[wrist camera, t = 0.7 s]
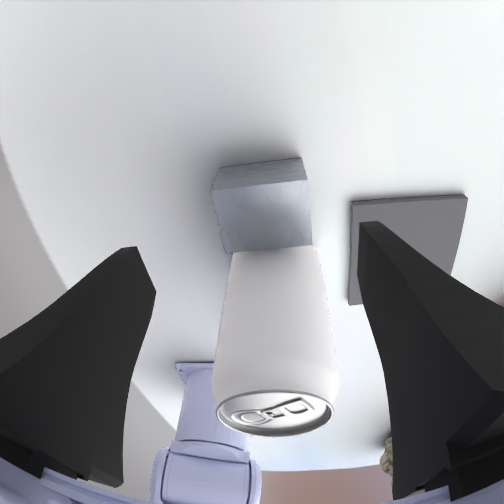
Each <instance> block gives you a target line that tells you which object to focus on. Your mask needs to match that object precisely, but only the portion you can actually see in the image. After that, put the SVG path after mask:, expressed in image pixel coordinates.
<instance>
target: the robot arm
mask: <svg viewBox="0 0 504 504" xmlns="http://www.w3.org/2000/svg"><path fill="white" fill-rule="evenodd" d="M357 278H358V283H359V288H360V292H361V297H362V302H363V305H364V308H365V311H366V314H367V317H368V320H369V323H370V326H371V330H372V333H373V336H374V339H375V342H376V345H377V349H378V352H379V355H380V359H381V363H382V367H383V371H384V377H385V383H386V390H387V396H388V404H389V413H390V423H391V436H392V455H393V485H392V493H393V501H390V502H386V503H380V504H504V307H502V306H500V305H498V304H496V303H494V302H493V301H491V300H489V299H487V298H485V297H483V296H482V295H480V294H478V293H477V292H475V291H473V290H472V289H470V288H469V287H467V286H466V285H464V284H462V283H461V282H459V281H458V280H456V279H455V278H453V277H452V276H450V275H449V274H447V273H446V272H444V271H443V270H442V269H440V268H439V267H438V266H436V265H435V264H433V263H432V262H431V261H429V260H428V259H427V258H425V257H424V256H423V255H421V254H420V253H419V252H418V251H416V250H415V249H414V248H413V247H411V246H410V245H409V244H408V243H406V242H405V241H404V240H403V239H401V238H400V237H399V236H398V235H396V234H395V233H394V232H393V231H391V230H390V229H389V228H387V227H386V226H385V225H383V224H382V223H381V222H379V221H369V222H359V244H358V264H357ZM155 296H156V290H155V288H154V286H153V283H152V281H151V279H150V277H149V274H148V272H147V270H146V267H145V265H144V263H143V260H142V258H141V256H140V253H139V251H138V249H137V246H135V247H126V248H121V249H119V250H118V251H116V252H115V253H113V254H112V255H111V256H109V257H108V258H107V259H105V260H104V261H103V262H102V263H100V264H99V265H98V266H97V267H96V268H94V269H93V270H92V271H91V272H90V273H88V274H87V275H86V276H85V277H84V278H83V279H81V280H80V281H79V282H78V283H77V284H75V285H74V286H73V287H72V288H71V289H69V290H68V291H67V292H66V293H65V294H63V295H62V296H61V297H60V298H59V299H57V300H56V301H55V302H54V303H53V304H51V305H50V306H49V307H47V308H46V309H45V310H43V311H42V312H41V313H39V314H38V315H37V316H35V317H34V318H32V319H31V320H29V321H28V322H27V323H25V324H23V325H22V326H20V327H19V328H17V329H15V330H14V331H12V332H11V333H9V334H8V335H6V336H4V337H2V338H1V339H0V504H82V503H83V504H259V501H260V494H261V483H262V476H261V468H260V466H259V465H258V464H257V463H256V461H255V460H249V457H250V452H247V451H248V449H249V446H250V435H247V434H243V433H240V432H237V431H234V430H232V429H230V428H228V427H226V426H225V425H223V424H222V423H221V422H220V421H219V420H218V419H217V417H216V408H217V406H218V405H217V402H216V400H215V397H214V394H213V391H212V373H213V366H214V363H177V364H176V366H175V368H176V369H177V371H178V373H179V374H180V376H181V377H182V379H183V381H184V382H185V384H186V387H185V392H184V397H183V402H182V407H181V412H180V417H179V422H178V427H177V432H176V438H175V441H172V444H171V448H169V447H164V448H163V449H162V450H160V451H158V453H157V455H156V458H155V461H154V465H153V469H152V476H151V484H150V493H151V497H150V501H146V500H142V499H137V498H133V497H129V496H125V495H122V494H118V493H115V492H111V491H108V490H104V489H101V488H98V487H95V486H92V485H89V484H86V483H83V482H81V481H78V480H77V478H80V479H83V480H86V481H88V480H92V481H95V482H98V483H101V484H104V485H108V486H111V487H114V488H116V487H119V486H120V485H122V484H123V482H124V481H123V459H122V458H123V456H122V455H123V453H122V452H123V430H124V420H125V412H126V404H127V398H128V392H129V387H130V382H131V378H132V374H133V370H134V367H135V364H136V361H137V358H138V355H139V352H140V349H141V346H142V343H143V340H144V337H145V334H146V331H147V328H148V325H149V322H150V319H151V316H152V311H153V307H154V301H155ZM80 502H81V503H80Z"/></svg>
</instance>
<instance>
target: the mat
mask: <svg viewBox="0 0 504 504" xmlns="http://www.w3.org/2000/svg"><path fill="white" fill-rule="evenodd" d="M467 201H468V198H467V197H466V196H465V195H447V196H427V197H410V198H394V199H380V200H366V201H354V202H351V237H350V268H349V287H348V304H349V305H358V304H363V302H362V297H361V292H360V288H359V283H358V278H357V264H358V244H359V222H369V221H379V222H381V223H382V224H383V225H385V226H386V227H387V228H389V229H390V230H391V231H393V232H394V233H395V234H396V235H398V236H399V237H400V238H401V239H403V240H404V241H405V242H406V243H408V244H409V245H410V246H411V247H413V248H414V249H415V250H416V251H418V252H419V253H420V254H421V255H423V256H424V257H425V258H427V259H428V260H429V261H431V262H432V263H433V264H435V265H436V266H438V267H439V268H440V269H442V270H443V271H444V272H446V273H447V274H449V275H451V271H452V268H453V264H454V260H455V257H456V253H457V249H458V245H459V240H460V236H461V232H462V227H463V222H464V217H465V212H466V207H467Z"/></svg>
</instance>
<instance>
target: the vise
mask: <svg viewBox="0 0 504 504" xmlns="http://www.w3.org/2000/svg"><path fill="white" fill-rule="evenodd" d="M210 192H211V196H212V200H213V204H214V208H215V212H216V216H217V221H218V225H219V229H220V233H221V237H222V241H223V245H224V249H225V253H236V252H247V251H257V250H267V249H278V248H288V247H298V246H309V245H312V232H311V217H310V203H309V191H308V180H307V176H306V172H305V169H304V165H303V161H302V158H295V159H285V160H276V161H267V162H259V163H251V164H244V165H236V166H229V167H222V168H220V169H219V172H218V174H217V177H216V179H215V181H214V184H213V186H212V189H211V191H210Z"/></svg>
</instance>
